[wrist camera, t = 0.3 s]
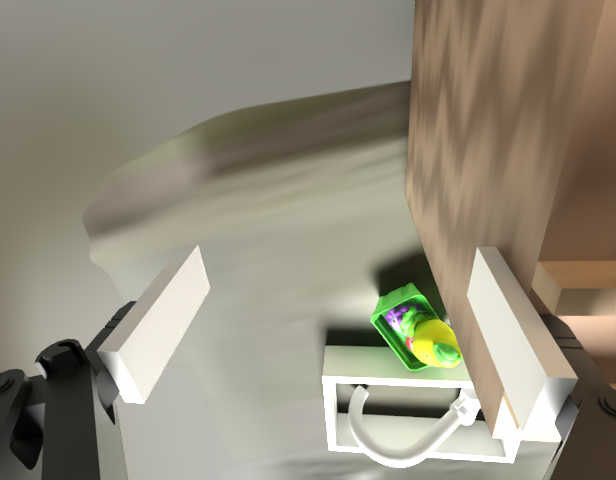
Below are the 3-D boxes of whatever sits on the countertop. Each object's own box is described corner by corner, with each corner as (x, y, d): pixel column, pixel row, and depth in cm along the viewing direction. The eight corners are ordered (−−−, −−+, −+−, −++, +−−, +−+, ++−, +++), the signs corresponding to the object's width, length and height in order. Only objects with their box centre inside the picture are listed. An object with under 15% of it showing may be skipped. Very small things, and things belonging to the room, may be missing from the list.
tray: (325, 345, 55) (322, 376, 49) (518, 350, 50) (538, 384, 45) (331, 417, 62) (329, 450, 57) (498, 426, 58) (513, 462, 53)
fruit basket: (366, 294, 49) (369, 354, 39) (423, 266, 46) (442, 324, 36) (406, 346, 53) (418, 413, 43) (461, 323, 50) (488, 390, 40)
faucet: (496, 383, 49) (393, 485, 43) (485, 410, 56) (395, 501, 50) (418, 319, 59) (326, 395, 53) (417, 349, 66) (336, 419, 60)
